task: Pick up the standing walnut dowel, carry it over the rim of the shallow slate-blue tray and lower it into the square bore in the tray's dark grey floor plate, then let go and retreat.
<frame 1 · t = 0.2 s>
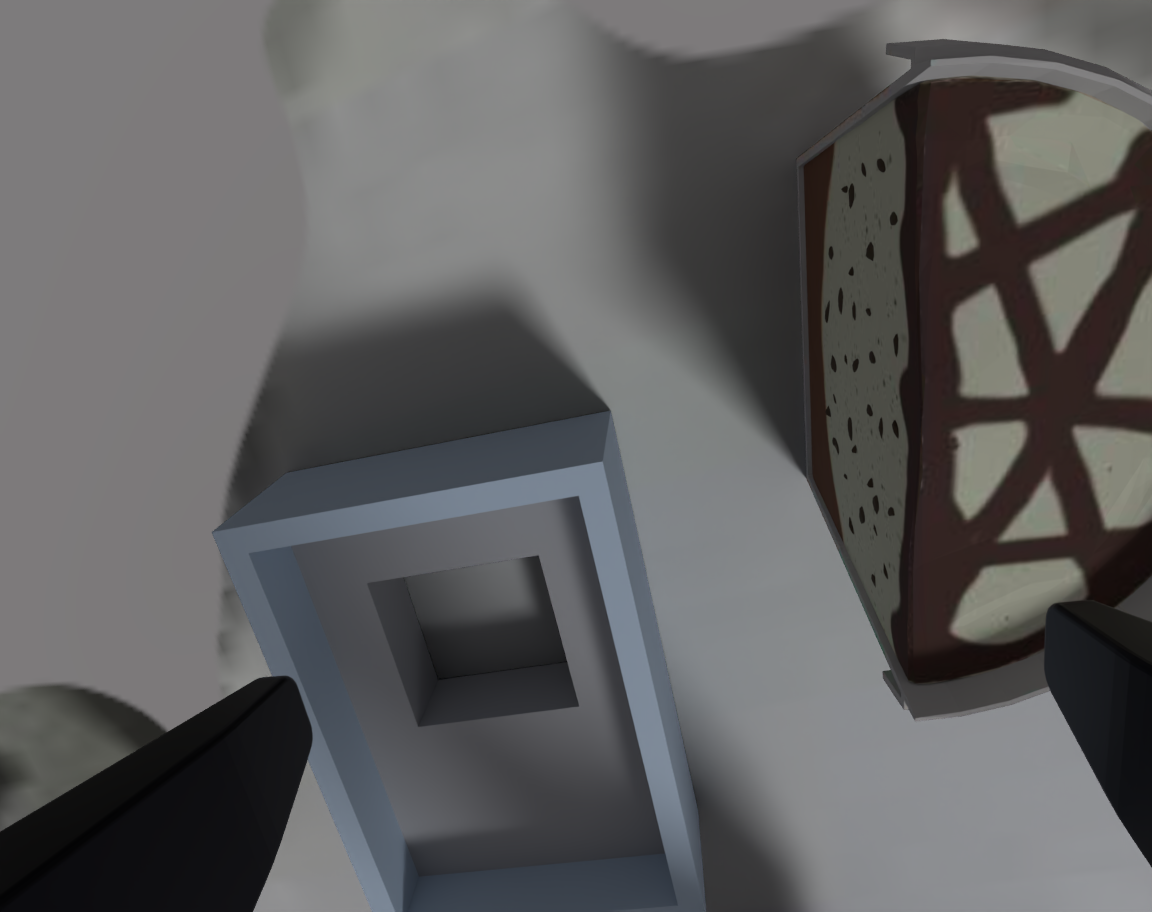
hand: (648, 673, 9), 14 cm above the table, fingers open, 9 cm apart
food container: (909, 316, 21), on the table
box: (505, 652, 26), on the table
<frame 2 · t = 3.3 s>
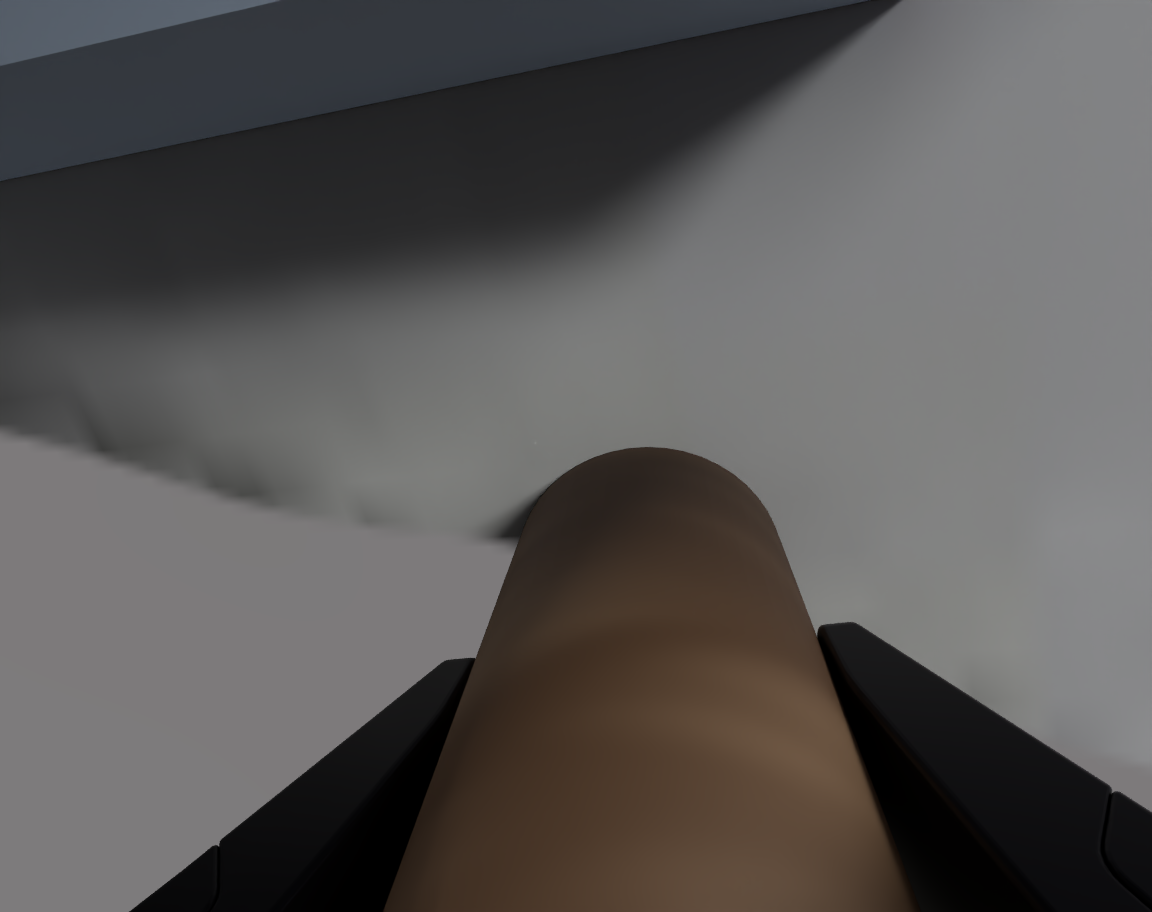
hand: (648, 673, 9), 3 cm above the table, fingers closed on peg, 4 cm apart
peg: (648, 571, 11), on the table, touching gripper
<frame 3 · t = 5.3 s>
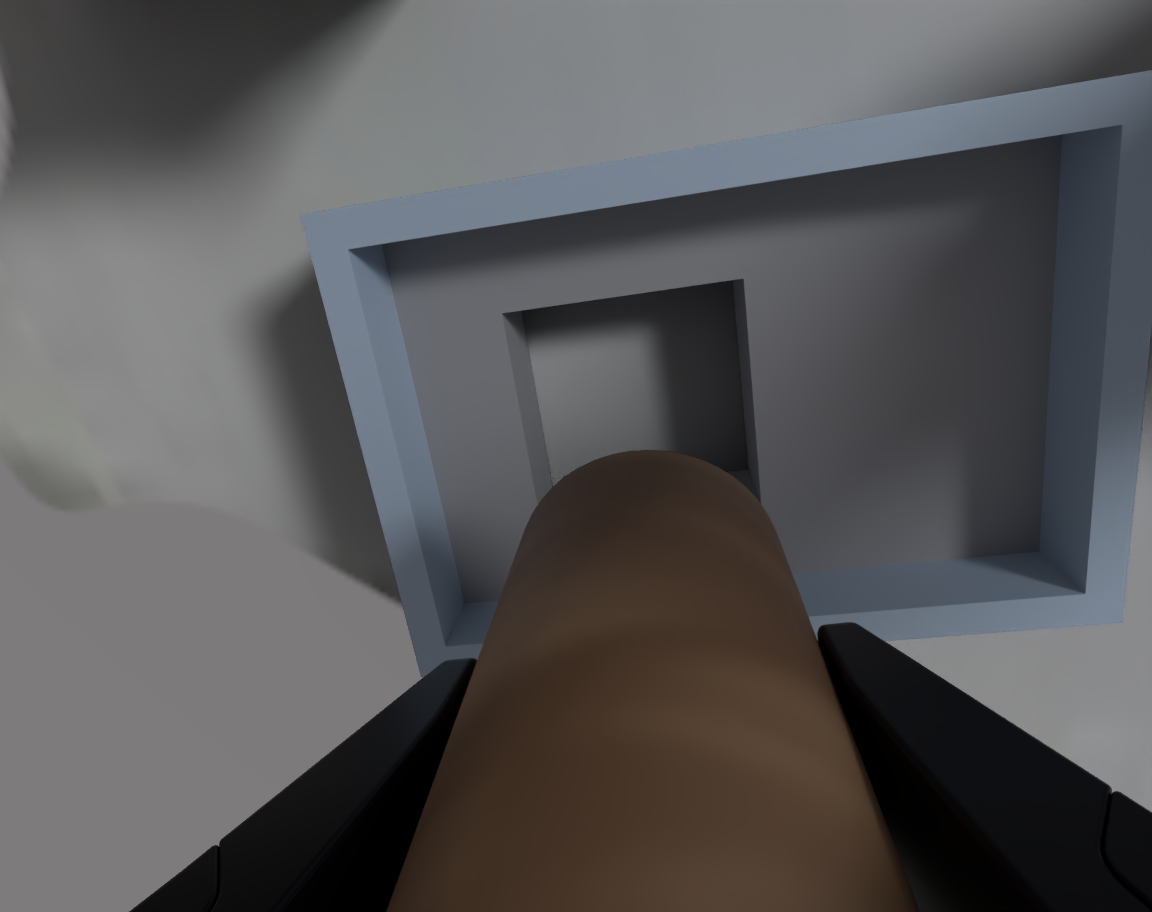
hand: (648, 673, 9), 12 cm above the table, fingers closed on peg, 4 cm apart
peg: (648, 574, 11), point 9 cm above the table, touching gripper
box: (711, 376, 20), on the table
when the fingers open (3 cm above the table, at t = 7.3 s): peg stays where it is, resting in box.
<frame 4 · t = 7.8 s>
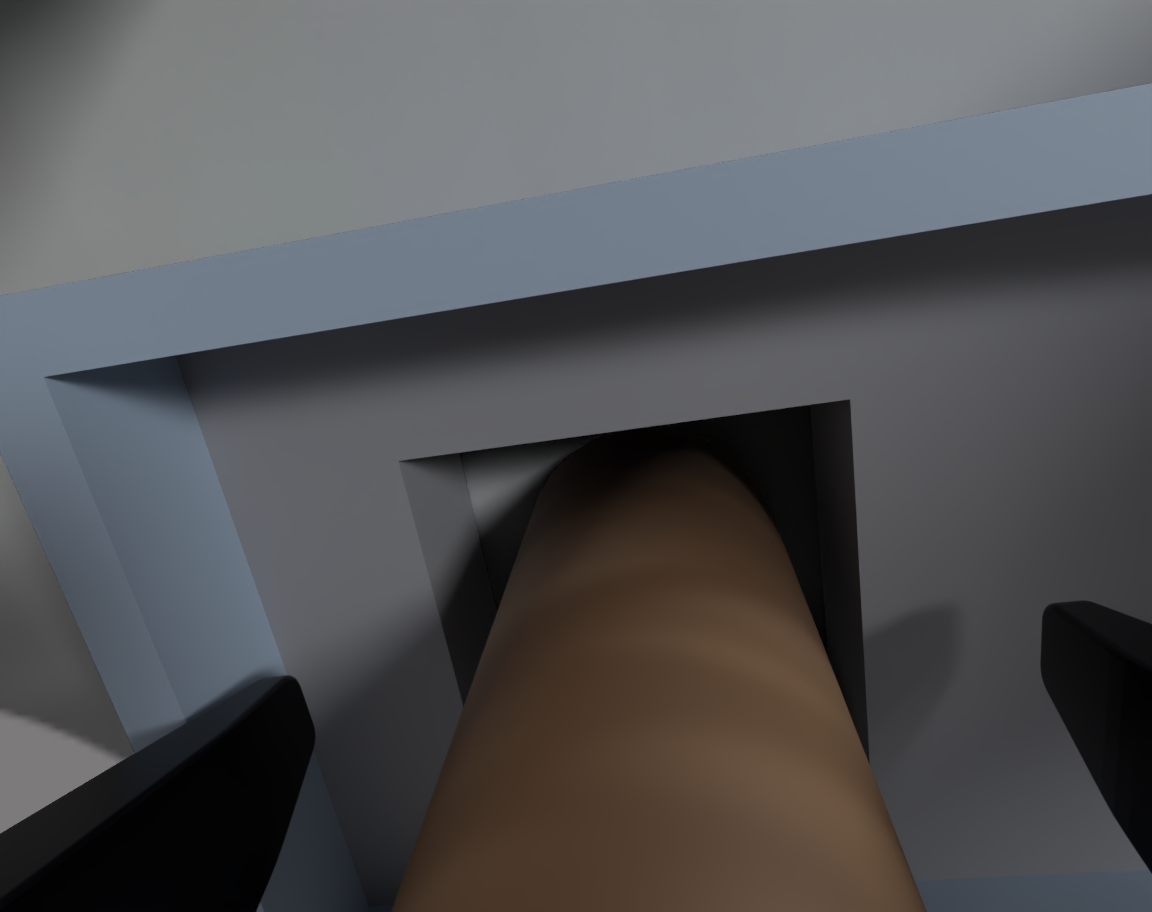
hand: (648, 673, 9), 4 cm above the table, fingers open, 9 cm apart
peg: (650, 543, 12), resting in box
box: (770, 528, 12), on the table
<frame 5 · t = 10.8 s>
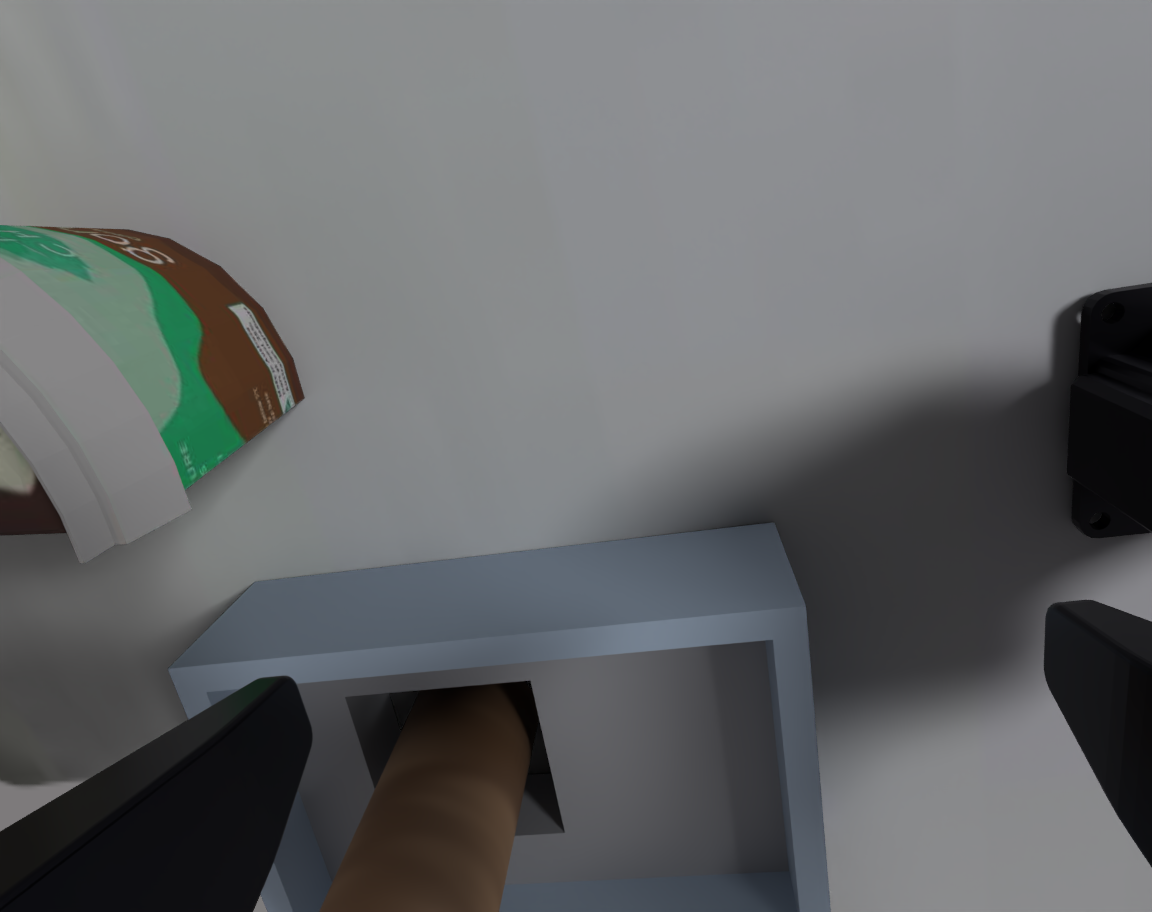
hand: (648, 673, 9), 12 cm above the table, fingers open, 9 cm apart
peg: (478, 710, 24), resting in box
food container: (127, 299, 21), on the table
box: (535, 705, 24), on the table
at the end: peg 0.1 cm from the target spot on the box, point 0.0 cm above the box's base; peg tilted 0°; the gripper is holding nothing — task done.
